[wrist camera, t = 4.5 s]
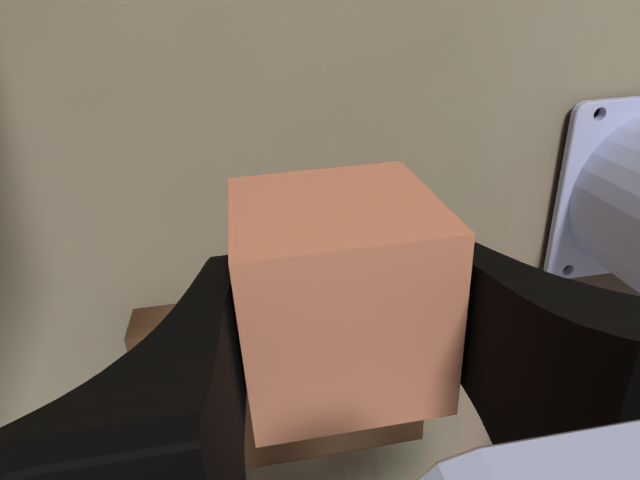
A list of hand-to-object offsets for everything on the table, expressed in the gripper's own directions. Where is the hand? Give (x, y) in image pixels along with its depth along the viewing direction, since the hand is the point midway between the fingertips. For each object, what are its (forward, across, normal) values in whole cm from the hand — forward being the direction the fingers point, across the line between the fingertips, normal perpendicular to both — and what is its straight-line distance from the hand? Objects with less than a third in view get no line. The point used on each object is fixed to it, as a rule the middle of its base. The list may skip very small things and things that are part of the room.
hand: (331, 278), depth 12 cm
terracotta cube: (+2, 0, 0) cm, 2 cm away
